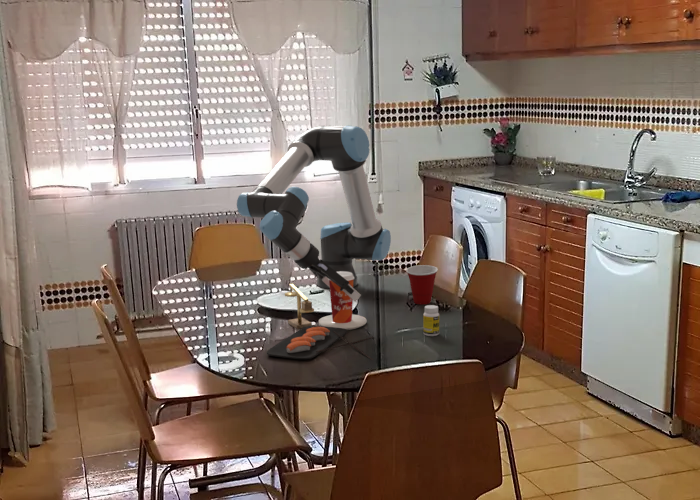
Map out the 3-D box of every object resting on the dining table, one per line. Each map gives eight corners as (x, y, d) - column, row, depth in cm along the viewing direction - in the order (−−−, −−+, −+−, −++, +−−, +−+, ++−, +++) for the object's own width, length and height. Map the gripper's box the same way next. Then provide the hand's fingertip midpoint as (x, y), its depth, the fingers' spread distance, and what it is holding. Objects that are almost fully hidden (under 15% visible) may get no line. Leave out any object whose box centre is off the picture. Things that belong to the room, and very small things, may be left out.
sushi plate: (307, 330, 247) (306, 318, 247) (399, 339, 236) (399, 327, 235) (262, 360, 221) (262, 346, 220) (364, 371, 210) (363, 358, 209)
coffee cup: (336, 325, 245) (335, 278, 242) (324, 319, 253) (323, 272, 250) (360, 321, 249) (359, 274, 246) (348, 315, 256) (347, 269, 253)
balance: (282, 320, 257) (281, 283, 255) (297, 317, 259) (295, 281, 257) (302, 332, 243) (301, 294, 241) (317, 330, 245) (316, 292, 243)
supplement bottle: (434, 337, 236) (434, 309, 234) (420, 334, 238) (420, 307, 237) (441, 333, 240) (442, 305, 238) (427, 330, 242) (427, 303, 241)
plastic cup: (401, 304, 272) (400, 270, 270) (413, 297, 282) (413, 264, 279) (430, 308, 267) (430, 273, 265) (442, 300, 277) (442, 266, 274)
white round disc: (311, 321, 254) (310, 318, 254) (352, 315, 261) (352, 311, 261) (331, 333, 241) (331, 330, 241) (375, 326, 248) (375, 322, 248)
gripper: (278, 254, 251) (323, 294, 260) (311, 269, 229) (359, 312, 239) (293, 236, 252) (337, 276, 262) (327, 248, 230) (374, 292, 240)
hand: (347, 293), depth 250 cm, fingers open, 13 cm apart
